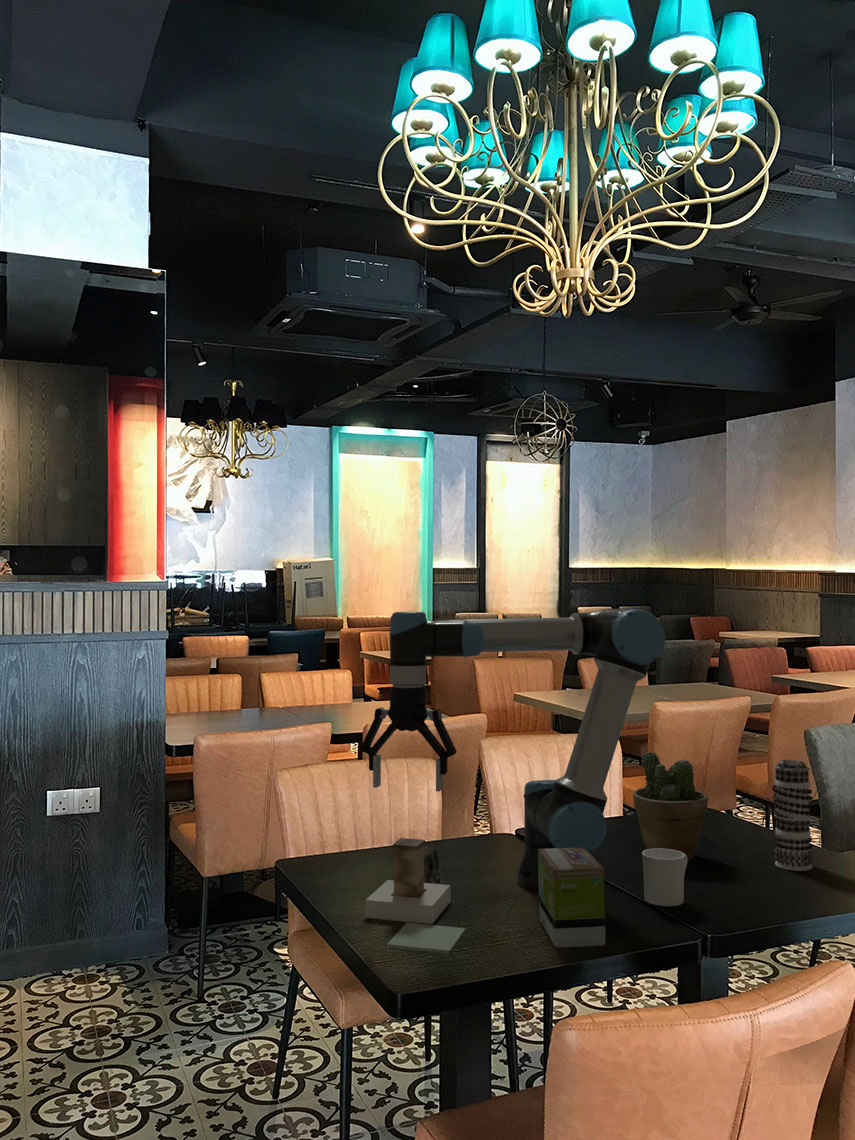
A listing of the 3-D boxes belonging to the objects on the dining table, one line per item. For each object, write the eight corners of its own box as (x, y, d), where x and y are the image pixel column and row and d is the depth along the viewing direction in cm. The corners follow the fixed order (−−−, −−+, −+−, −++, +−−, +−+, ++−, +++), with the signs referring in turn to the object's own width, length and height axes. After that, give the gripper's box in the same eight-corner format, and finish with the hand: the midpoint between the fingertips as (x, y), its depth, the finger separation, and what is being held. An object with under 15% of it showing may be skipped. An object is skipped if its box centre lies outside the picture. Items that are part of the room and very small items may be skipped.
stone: (448, 842, 210) (408, 836, 215) (434, 880, 203) (393, 874, 207) (458, 867, 216) (419, 862, 220) (445, 905, 209) (404, 899, 213)
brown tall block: (425, 906, 196) (425, 839, 196) (417, 914, 191) (417, 846, 191) (400, 904, 197) (400, 838, 198) (392, 912, 192) (392, 844, 193)
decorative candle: (772, 869, 223) (770, 763, 224) (773, 859, 232) (772, 757, 233) (813, 873, 220) (812, 765, 221) (813, 862, 229) (811, 759, 229)
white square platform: (450, 904, 199) (450, 885, 199) (432, 926, 185) (432, 905, 185) (387, 898, 203) (387, 879, 203) (365, 919, 189) (365, 899, 189)
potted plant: (718, 852, 238) (716, 753, 239) (696, 870, 222) (695, 764, 223) (648, 843, 248) (647, 748, 249) (622, 859, 232) (621, 758, 233)
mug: (662, 912, 193) (661, 861, 193) (633, 900, 201) (633, 851, 201) (702, 904, 198) (701, 854, 198) (672, 892, 206) (672, 845, 206)
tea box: (537, 921, 188) (536, 846, 189) (586, 919, 189) (585, 845, 190) (553, 948, 173) (553, 868, 174) (607, 946, 174) (606, 866, 175)
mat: (465, 931, 182) (465, 928, 182) (449, 953, 171) (449, 950, 171) (406, 925, 186) (406, 922, 186) (387, 947, 174) (387, 944, 174)
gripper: (470, 685, 195) (470, 788, 195) (358, 682, 203) (357, 781, 202) (461, 688, 188) (461, 795, 188) (345, 685, 195) (345, 788, 195)
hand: (407, 788), depth 195 cm, fingers open, 13 cm apart
